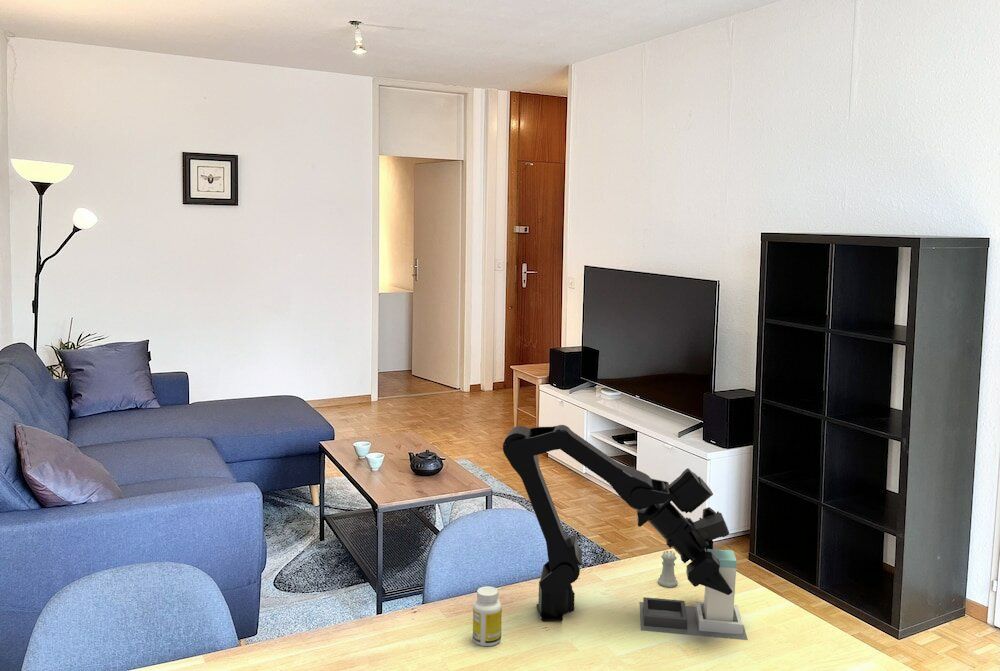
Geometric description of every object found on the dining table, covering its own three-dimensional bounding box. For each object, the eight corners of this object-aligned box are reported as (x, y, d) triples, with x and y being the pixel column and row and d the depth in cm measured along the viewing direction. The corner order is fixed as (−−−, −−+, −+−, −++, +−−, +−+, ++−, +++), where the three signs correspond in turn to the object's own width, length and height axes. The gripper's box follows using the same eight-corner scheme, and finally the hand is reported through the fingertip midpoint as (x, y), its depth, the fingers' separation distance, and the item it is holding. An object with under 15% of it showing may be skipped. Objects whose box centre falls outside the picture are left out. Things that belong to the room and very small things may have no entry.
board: (640, 635, 158) (641, 620, 158) (639, 606, 170) (639, 592, 170) (747, 644, 156) (748, 629, 155) (738, 615, 167) (739, 601, 167)
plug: (705, 627, 160) (709, 559, 158) (703, 615, 165) (707, 548, 163) (732, 629, 159) (736, 560, 157) (728, 617, 164) (733, 550, 162)
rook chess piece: (679, 592, 177) (681, 557, 176) (658, 592, 177) (660, 556, 176) (675, 583, 181) (677, 549, 180) (655, 583, 181) (657, 548, 180)
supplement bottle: (505, 635, 157) (506, 587, 156) (495, 649, 152) (496, 599, 151) (478, 630, 159) (479, 582, 158) (468, 644, 154) (469, 594, 152)
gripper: (710, 517, 150) (768, 580, 150) (699, 485, 168) (752, 541, 168) (664, 555, 152) (721, 616, 152) (658, 519, 170) (710, 574, 170)
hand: (727, 584), depth 161 cm, fingers open, 7 cm apart
